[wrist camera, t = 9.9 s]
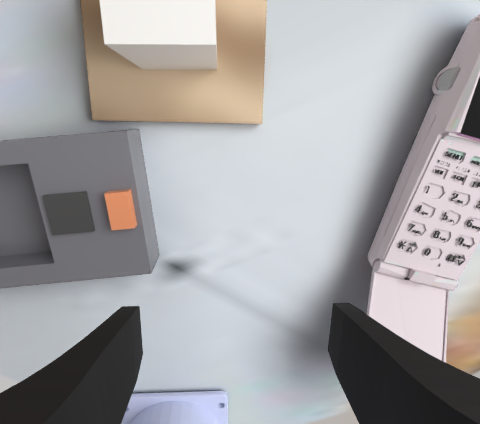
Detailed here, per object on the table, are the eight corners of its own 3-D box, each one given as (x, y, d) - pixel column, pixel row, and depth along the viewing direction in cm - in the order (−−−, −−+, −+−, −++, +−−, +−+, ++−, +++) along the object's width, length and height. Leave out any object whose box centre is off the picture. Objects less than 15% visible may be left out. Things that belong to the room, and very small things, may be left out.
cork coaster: (260, 123, 19) (262, 123, 18) (96, 120, 18) (92, 120, 18) (268, -70, 16) (269, -76, 16) (76, -81, 16) (71, -88, 15)
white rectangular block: (217, 69, 17) (215, 44, 12) (142, 69, 17) (104, 44, 12) (214, -16, 16) (212, -89, 11) (135, -17, 16) (88, -92, 10)
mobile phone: (350, 417, 18) (595, -93, 12) (318, 346, 24) (473, -26, 18) (441, 432, 19) (713, -34, 13) (389, 360, 25) (561, 11, 19)
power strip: (140, 128, 19) (123, 131, 16) (160, 252, 21) (149, 278, 18) (-138, 151, 18) (-221, 159, 15) (-88, 276, 21) (-149, 307, 17)
